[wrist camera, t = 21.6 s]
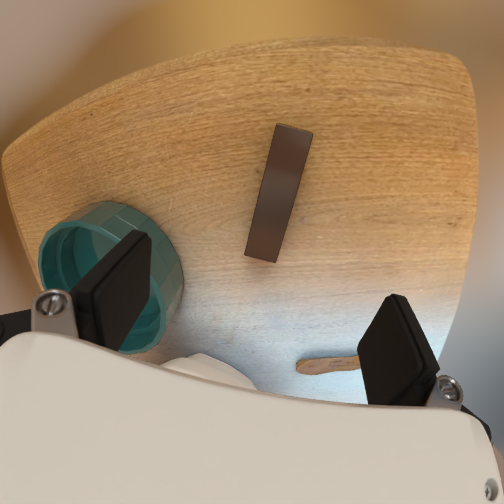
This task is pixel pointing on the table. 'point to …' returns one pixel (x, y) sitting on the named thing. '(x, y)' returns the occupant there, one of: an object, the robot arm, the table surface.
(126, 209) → the mixing bowl
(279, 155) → the brown wooden block
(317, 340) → the table surface
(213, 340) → the table surface
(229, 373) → the bowl
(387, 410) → the robot arm
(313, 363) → the stone tool
